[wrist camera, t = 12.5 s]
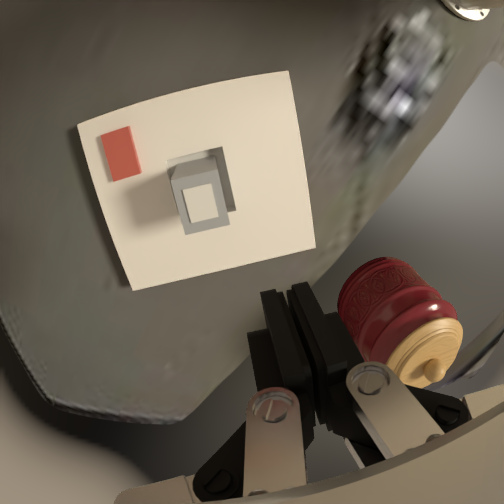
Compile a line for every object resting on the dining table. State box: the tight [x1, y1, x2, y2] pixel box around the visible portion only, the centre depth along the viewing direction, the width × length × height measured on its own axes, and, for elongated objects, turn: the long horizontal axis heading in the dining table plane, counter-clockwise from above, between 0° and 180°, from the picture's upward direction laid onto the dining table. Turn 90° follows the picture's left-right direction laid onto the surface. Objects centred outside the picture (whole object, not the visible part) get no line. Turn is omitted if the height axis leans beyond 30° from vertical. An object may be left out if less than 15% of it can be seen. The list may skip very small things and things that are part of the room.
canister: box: [337, 257, 463, 388], centre depth 37 cm, size 13×13×18 cm
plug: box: [171, 155, 230, 235], centre depth 31 cm, size 4×5×8 cm
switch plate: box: [77, 71, 316, 291], centre depth 33 cm, size 22×20×3 cm
